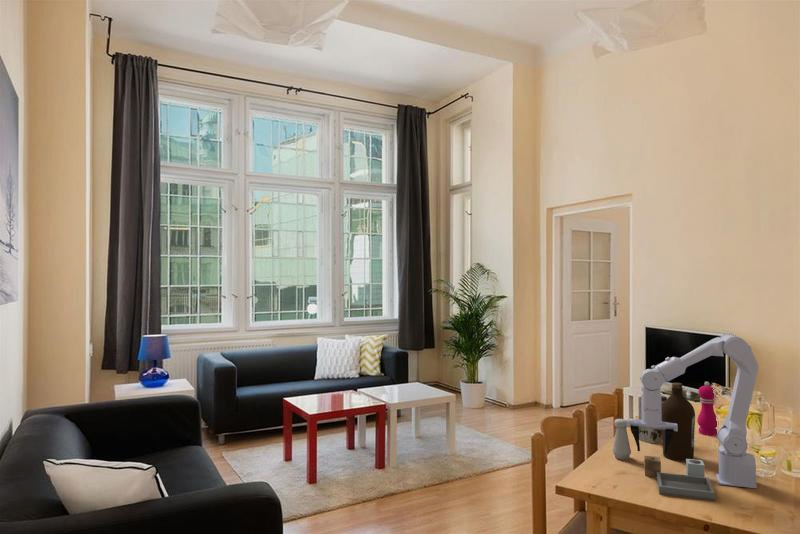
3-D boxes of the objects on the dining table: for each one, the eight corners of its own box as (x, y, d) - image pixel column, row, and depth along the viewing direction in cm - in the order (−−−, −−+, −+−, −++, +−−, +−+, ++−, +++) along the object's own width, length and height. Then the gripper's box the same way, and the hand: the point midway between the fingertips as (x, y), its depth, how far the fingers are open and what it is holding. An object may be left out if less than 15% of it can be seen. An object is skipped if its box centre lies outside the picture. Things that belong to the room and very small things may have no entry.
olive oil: (663, 460, 187) (661, 385, 187) (659, 450, 197) (658, 379, 197) (698, 463, 183) (697, 387, 183) (693, 453, 193) (691, 381, 193)
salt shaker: (632, 461, 187) (631, 422, 187) (614, 460, 188) (613, 421, 188) (628, 455, 192) (628, 417, 192) (611, 454, 194) (610, 417, 194)
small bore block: (660, 472, 176) (659, 456, 176) (661, 478, 172) (660, 461, 172) (644, 471, 178) (644, 455, 178) (645, 476, 173) (644, 460, 173)
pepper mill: (694, 430, 220) (693, 379, 220) (713, 430, 219) (713, 379, 219) (701, 435, 213) (700, 383, 213) (721, 436, 212) (721, 383, 212)
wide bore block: (702, 476, 172) (702, 460, 172) (704, 481, 168) (704, 465, 168) (686, 474, 174) (686, 458, 174) (687, 479, 170) (687, 463, 170)
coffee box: (654, 444, 204) (653, 400, 204) (638, 439, 209) (637, 396, 210) (668, 439, 209) (667, 396, 209) (652, 435, 214) (651, 393, 215)
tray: (708, 485, 165) (708, 477, 165) (715, 500, 154) (714, 492, 154) (656, 479, 171) (656, 471, 171) (659, 494, 159) (659, 486, 160)
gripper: (676, 407, 176) (676, 450, 176) (626, 403, 181) (626, 445, 181) (678, 412, 169) (678, 457, 169) (626, 408, 175) (627, 452, 175)
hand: (652, 451), depth 175 cm, fingers open, 7 cm apart
